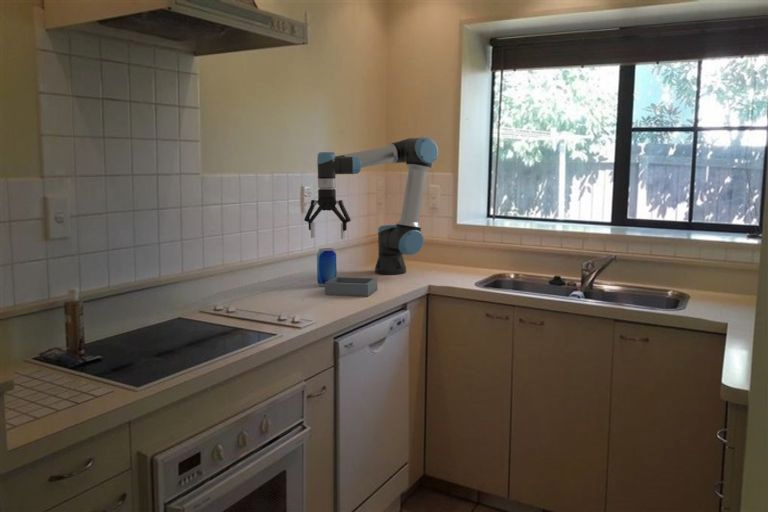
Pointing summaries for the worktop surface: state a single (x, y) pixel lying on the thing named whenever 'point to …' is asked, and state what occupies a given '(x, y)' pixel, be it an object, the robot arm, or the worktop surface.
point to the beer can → (326, 265)
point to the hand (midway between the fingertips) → (327, 238)
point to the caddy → (351, 286)
